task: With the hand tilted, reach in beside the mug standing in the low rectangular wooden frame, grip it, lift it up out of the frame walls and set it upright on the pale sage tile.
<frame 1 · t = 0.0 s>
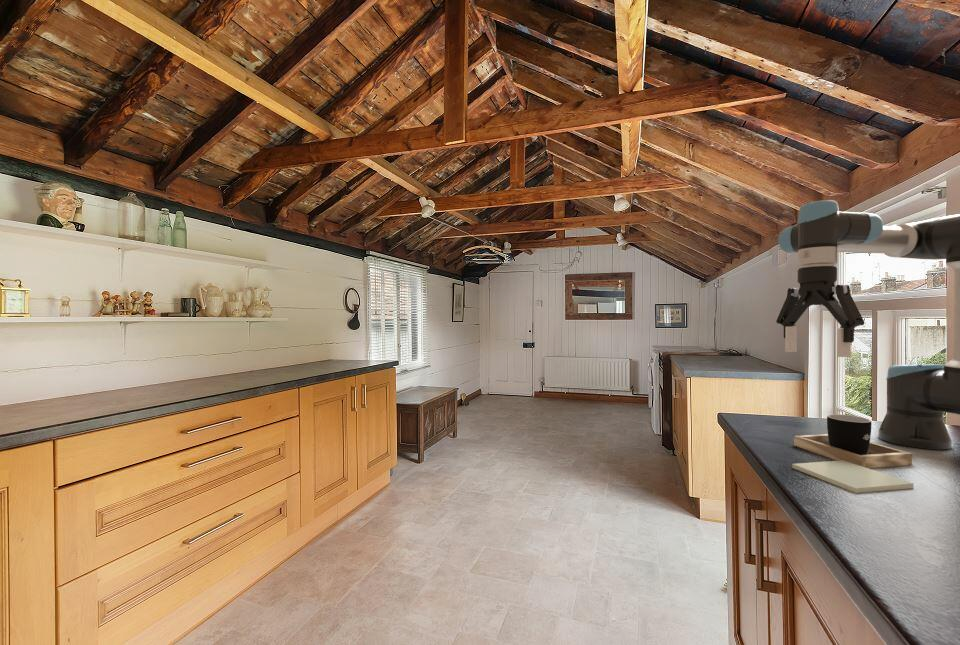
hand: (815, 354, 104), 28 cm above the countertop, tool pointing down, fingers open, 13 cm apart
tile: (849, 477, 99), on the countertop
rectangular wooden frame: (849, 454, 115), on the countertop
mug: (849, 455, 115), resting in rectangular wooden frame
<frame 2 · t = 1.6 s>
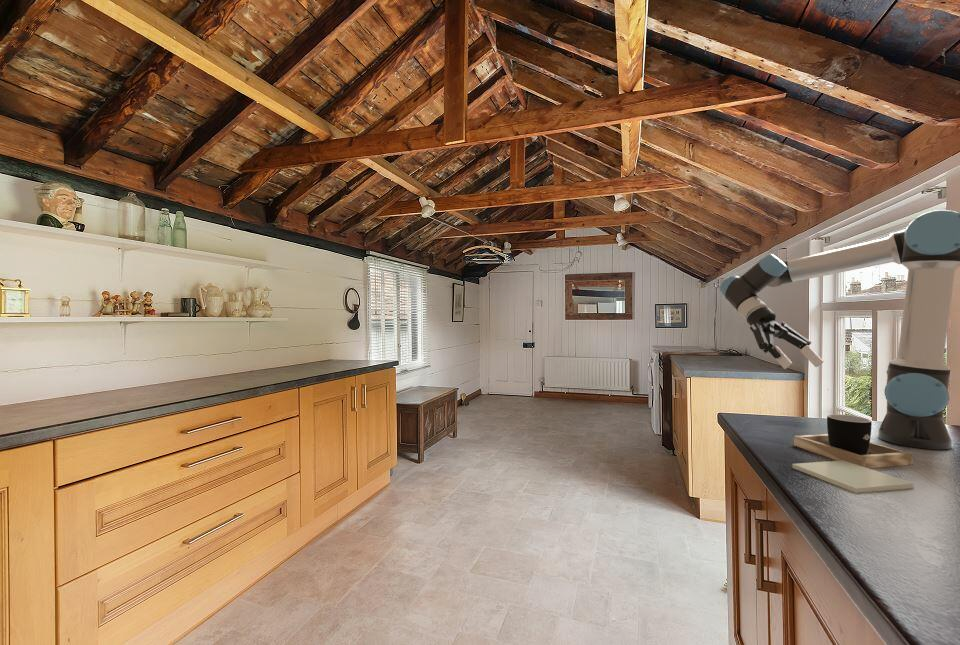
hand: (804, 365, 126), 23 cm above the countertop, tool tilted 45°, fingers open, 13 cm apart
nothing on the countertop moved.
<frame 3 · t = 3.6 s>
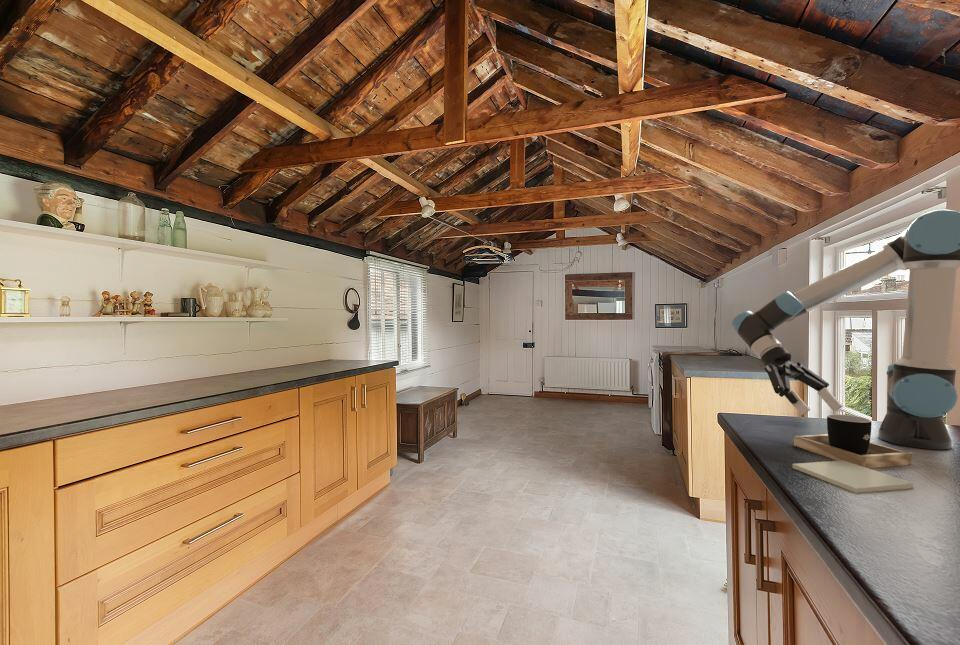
hand: (822, 410, 120), 11 cm above the countertop, tool tilted 45°, fingers open, 13 cm apart
nothing on the countertop moved.
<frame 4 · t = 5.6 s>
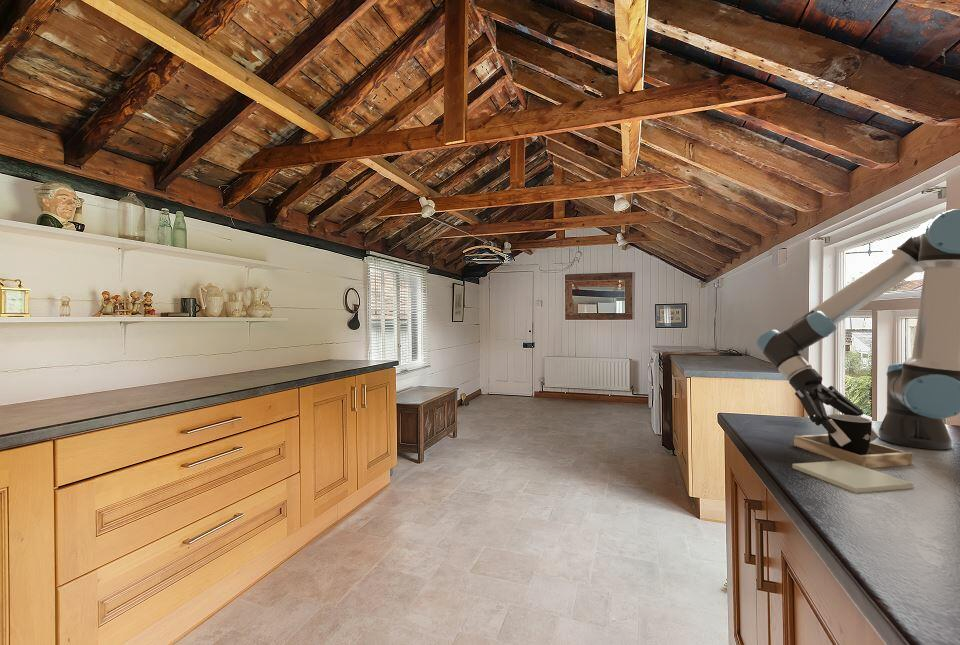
hand: (860, 441, 112), 4 cm above the countertop, tool tilted 45°, fingers closed on mug, 11 cm apart
mug: (849, 455, 115), resting in rectangular wooden frame, touching gripper
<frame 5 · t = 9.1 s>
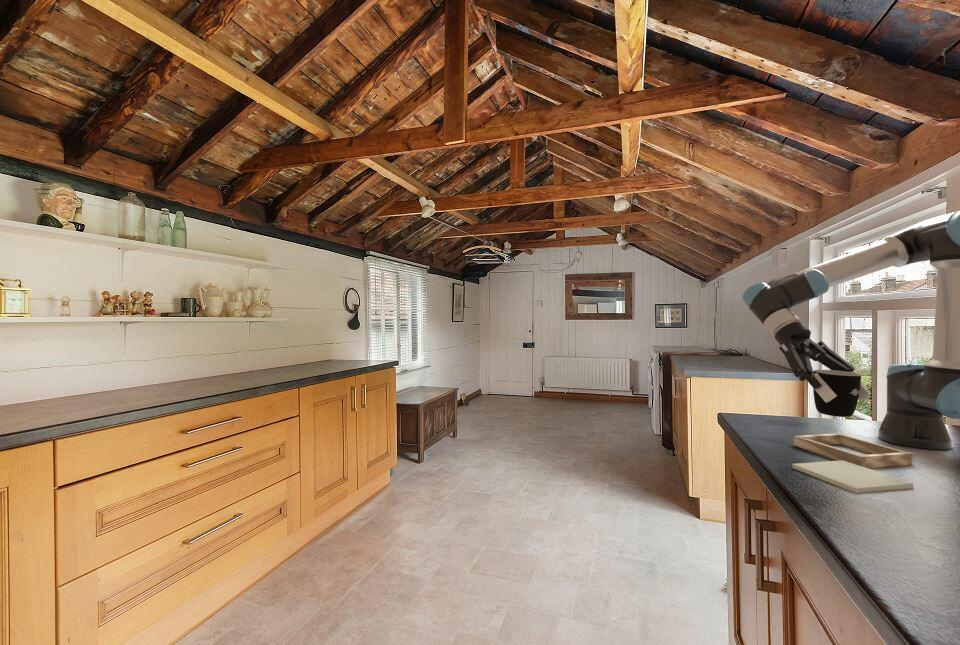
hand: (848, 398, 102), 18 cm above the countertop, tool tilted 45°, fingers closed on mug, 11 cm apart
mug: (835, 413, 105), point 13 cm above the countertop, touching gripper
when the fingers open (7 cm above the countertop, at t = 12.1 s): mug drops 1 cm, resting on tile.
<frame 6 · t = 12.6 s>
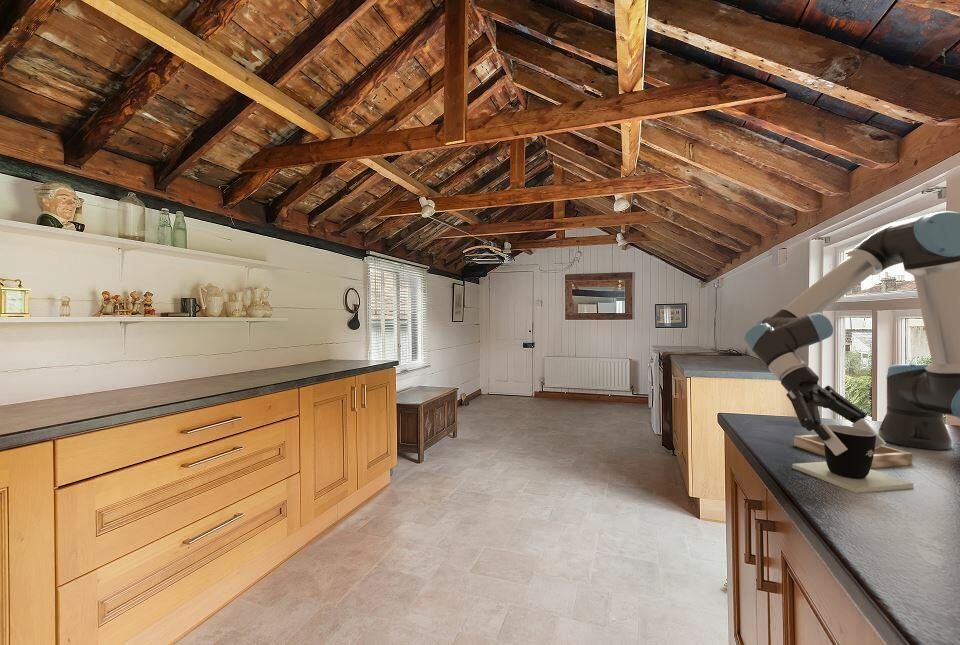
hand: (861, 449, 97), 7 cm above the countertop, tool tilted 45°, fingers open, 13 cm apart
mug: (847, 472, 99), point 1 cm above the countertop, touching tile
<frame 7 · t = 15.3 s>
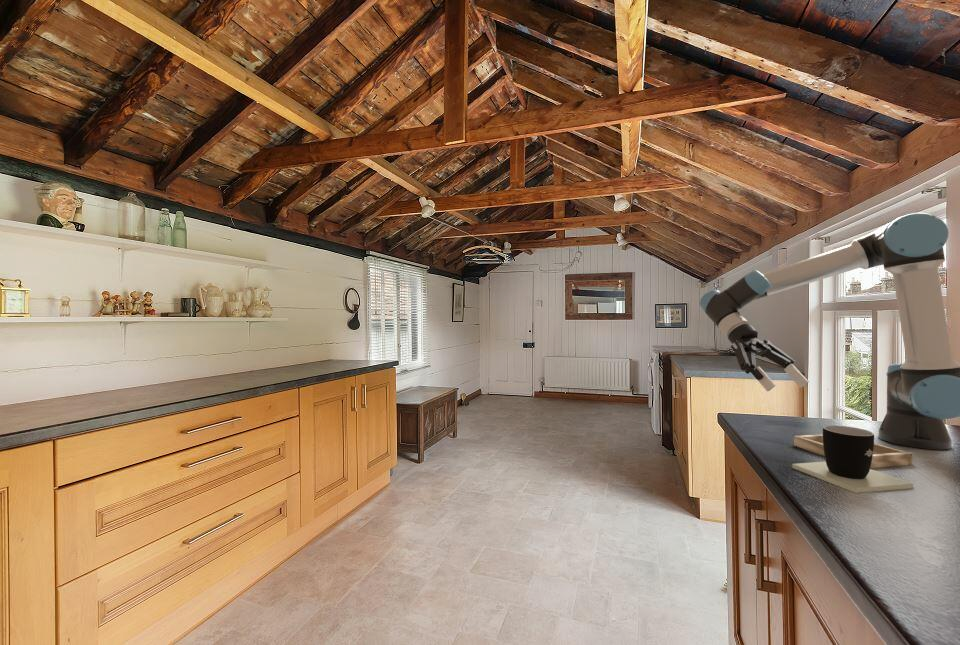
hand: (788, 386, 119), 18 cm above the countertop, tool tilted 45°, fingers open, 13 cm apart
nothing on the countertop moved.
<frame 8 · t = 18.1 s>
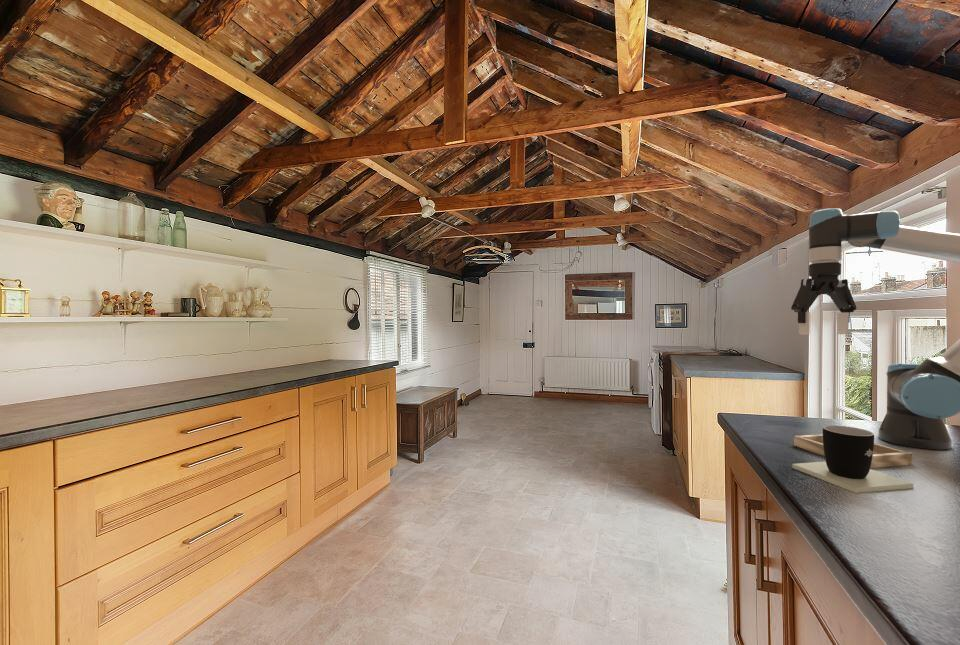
hand: (823, 334, 127), 32 cm above the countertop, tool pointing down, fingers open, 13 cm apart
nothing on the countertop moved.
at the end: mug inside the target area on the tile (0.3 cm from its centre), point 0.8 cm above the tile's base; mug tilted 0°; the gripper is holding nothing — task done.
